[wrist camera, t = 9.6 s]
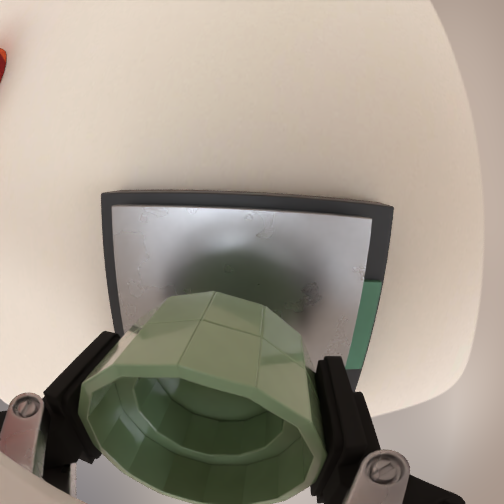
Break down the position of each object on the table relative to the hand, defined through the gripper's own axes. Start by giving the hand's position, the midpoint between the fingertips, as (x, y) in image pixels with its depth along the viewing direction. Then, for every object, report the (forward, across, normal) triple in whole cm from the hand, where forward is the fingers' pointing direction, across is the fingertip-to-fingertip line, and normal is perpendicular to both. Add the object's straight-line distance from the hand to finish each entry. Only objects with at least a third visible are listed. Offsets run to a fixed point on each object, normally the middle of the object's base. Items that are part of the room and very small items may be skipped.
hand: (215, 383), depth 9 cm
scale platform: (+4, 0, 0) cm, 4 cm away
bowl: (+1, 0, 0) cm, 1 cm away
